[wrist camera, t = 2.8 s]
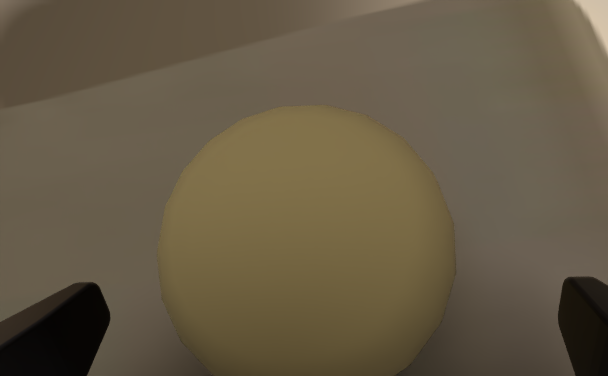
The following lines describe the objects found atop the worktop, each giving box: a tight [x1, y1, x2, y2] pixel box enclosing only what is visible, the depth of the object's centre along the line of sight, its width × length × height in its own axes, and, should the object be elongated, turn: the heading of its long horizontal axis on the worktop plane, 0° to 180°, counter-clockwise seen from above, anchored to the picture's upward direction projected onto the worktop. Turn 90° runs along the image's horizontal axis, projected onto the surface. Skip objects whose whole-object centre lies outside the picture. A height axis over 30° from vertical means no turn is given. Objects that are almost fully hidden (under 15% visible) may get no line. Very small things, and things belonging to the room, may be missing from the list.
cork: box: [157, 105, 456, 376], centre depth 11 cm, size 6×6×11 cm
